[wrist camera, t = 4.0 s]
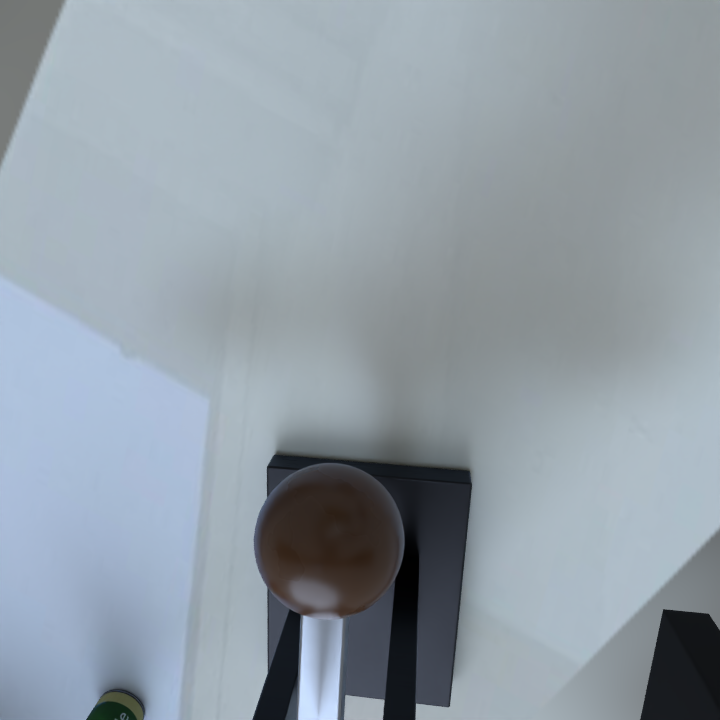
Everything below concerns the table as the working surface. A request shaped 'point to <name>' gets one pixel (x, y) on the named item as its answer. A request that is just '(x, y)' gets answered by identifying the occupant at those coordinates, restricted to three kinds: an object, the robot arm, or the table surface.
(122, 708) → the battery
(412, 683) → the lever bracket
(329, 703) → the flush lever
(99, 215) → the table surface
